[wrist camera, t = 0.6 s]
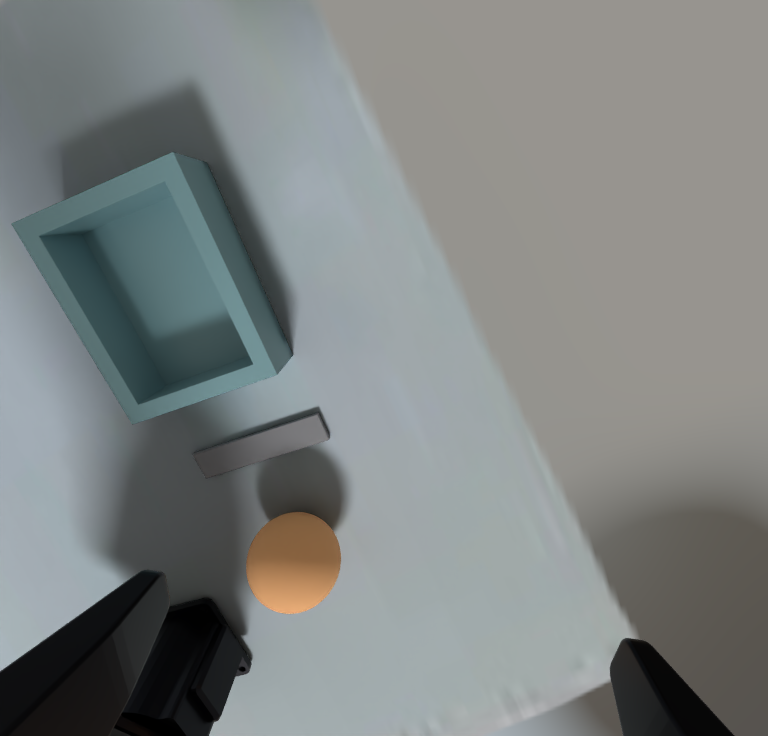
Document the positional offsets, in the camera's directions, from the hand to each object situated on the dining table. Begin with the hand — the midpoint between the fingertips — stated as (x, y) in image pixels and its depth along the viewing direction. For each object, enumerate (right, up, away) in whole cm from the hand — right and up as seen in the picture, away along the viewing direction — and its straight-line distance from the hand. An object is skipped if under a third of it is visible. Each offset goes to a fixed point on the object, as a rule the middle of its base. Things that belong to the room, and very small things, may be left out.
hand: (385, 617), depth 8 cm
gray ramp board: (-7, +1, +15) cm, 17 cm away
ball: (-5, -6, +15) cm, 16 cm away
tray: (-10, +9, +13) cm, 18 cm away
